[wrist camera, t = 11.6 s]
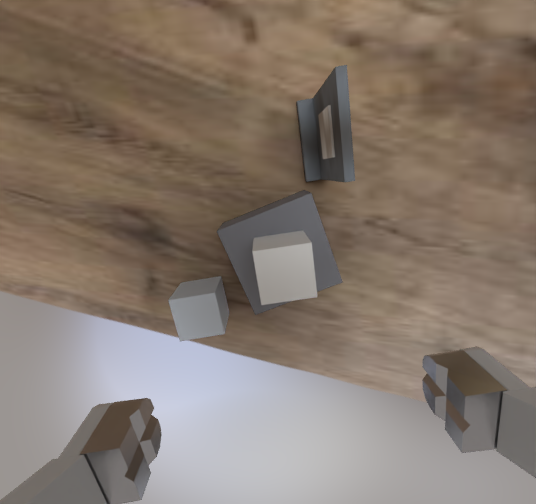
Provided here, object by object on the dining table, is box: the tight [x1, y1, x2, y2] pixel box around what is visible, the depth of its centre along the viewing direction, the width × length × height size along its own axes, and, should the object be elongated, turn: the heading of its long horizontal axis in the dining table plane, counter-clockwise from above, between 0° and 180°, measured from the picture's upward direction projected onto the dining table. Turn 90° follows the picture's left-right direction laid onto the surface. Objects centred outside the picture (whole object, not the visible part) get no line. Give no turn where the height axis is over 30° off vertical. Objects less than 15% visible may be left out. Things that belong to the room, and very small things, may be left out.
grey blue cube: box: [168, 276, 229, 341], centre depth 33 cm, size 5×5×5 cm
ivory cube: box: [252, 231, 317, 305], centre depth 27 cm, size 5×5×5 cm
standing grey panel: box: [296, 65, 355, 182], centre depth 26 cm, size 8×4×10 cm, turn 9°
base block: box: [217, 190, 342, 315], centre depth 32 cm, size 10×10×5 cm
